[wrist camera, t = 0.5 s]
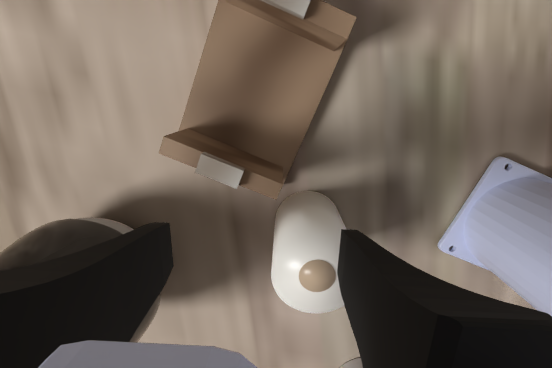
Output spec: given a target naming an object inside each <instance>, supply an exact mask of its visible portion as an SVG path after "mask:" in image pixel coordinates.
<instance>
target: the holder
mask: <svg viewBox="0 0 552 368" xmlns="http://www.w3.org/2000/svg"><path fill="white" fill-rule="evenodd" d="M356 18H357V17H355V16H353V15H351V14H349V13H347V12H344V11H342V10H340V9H338V8H336V7H334V6H332V5H330V4H328V3H325V2H323V1H321V0H218V4H217V7H216V10H215V14H214V17H213V20H212V23H211V27H210V30H209V33H208V36H207V40H206V43H205V46H204V50H203V53H202V56H201V59H200V63H199V66H198V69H197V73H196V76H195V79H194V82H193V86H192V89H191V92H190V96H189V99H188V102H187V105H186V109H185V112H184V115H183V119H182V122H181V125H180V128H179V131H178V132H175V133H172V134H169V135H166V136H164V137H163V140H162V144H161V147H160V151H159V154H162V155H164V156H167V157H169V158H172V159H174V160H177V161H180V162H182V163H185V164H187V165H190V166H192V167H195V168H196V171H195V173H197V174H200V175H202V176H205V177H207V178H210V179H212V180H215V181H218V182H220V183H223V184H225V185H228V186H230V187H233V188H235V189H237V187H238V185H240V186H243V187H245V188H248V189H250V190H253V191H255V192H258V193H260V194H263V195H265V196H268V197H270V198H273V199H275V200H276V199H277V197H278V194H279V192H280V190H281V189H282V186H283V184H284V182H285V179H286V177H287V175H288V173H289V170H290V168H291V166H292V164H293V161H294V159H295V157H296V155H297V152H298V150H299V148H300V146H301V143H302V141H303V139H304V137H305V134H306V132H307V130H308V127H309V125H310V123H311V121H312V118H313V116H314V114H315V112H316V109H317V107H318V105H319V103H320V100H321V98H322V96H323V94H324V91H325V89H326V87H327V85H328V82H329V80H330V78H331V75H332V73H333V71H334V69H335V66H336V64H337V62H338V60H339V57H340V55H341V53H342V51H343V48H344V46H345V44H346V42H347V39H348V37H349V35H350V33H351V30H352V27H353V25H354V22H355V20H356Z"/></svg>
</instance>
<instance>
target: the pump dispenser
mask: <svg viewBox="0 0 552 368" xmlns="http://www.w3.org/2000/svg"><path fill="white" fill-rule="evenodd" d="M132 230H134V229H132V228H131V227H129V226H127V225H125V224H122V223H120V222H117V221H114V220H110V219H104V218H80V219H64V220H58V221H53V222H50V223H47V224H45V225H42V226H40V227H38V228H36V229H34V230H33V231H31V232H29V233H27V234H26V235H24V236H23V237H21V238H20V239H18V240H17V241H15V242H14V243H13V244H11V245H10V246H8V247H7V248H6V249H4V250H3V251H2V252H1V253H0V272H1V271H6V270H11V269H16V268H20V267H24V266H28V265H32V264H37V263H41V262H45V261H49V260H52V259H56V258H59V257H62V256H66V255H69V254H72V253H75V252H78V251H81V250H84V249H87V248H89V247H92V246H95V245H97V244H100V243H102V242H105V241H108V240H110V239H113V238H115V237H118V236H120V235H122V234H125V233H127V232H130V231H132ZM159 303H160V294H159V295H158V297H157V298H156V300H155V302H154V303H153V305H152V306H151V308H150V309H149V311H148V313H147V314H146V316H145V317H144V319H143V320H142V322H141V324H140V325H139V327H138V328H137V330H136V331H135V333H134V335H133V336H132V338H131V340H130V342H138V341H139V340H140V338H141V337H142V336H143V334H144V333H145V332H146V330H147V329H148V327H149V325H150V324H151V322H152V320H153V319H154V317H155V315H156V313H157V310H158V307H159Z"/></svg>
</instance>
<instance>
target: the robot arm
mask: <svg viewBox="0 0 552 368" xmlns="http://www.w3.org/2000/svg"><path fill="white" fill-rule="evenodd" d="M506 164H508V167H507V168H506V169H505V168H504V167H505V165H506ZM451 246H453V248H452V249H449V248H450V247H451ZM438 248H439V249H440V250H441V251H443V252H445V253H447V254H450V255H452V256H455V257H457V258H460V259H462V260H465V261H467V262H470V263H472V264H475V265H477V266H480V267H482V268H485V269H487V270H490V271H492V272H493V273H494V274H495V275H496V276H498V277H499V278H500V279H501V280H502V281H503V282H505V283H506V284H507V285H508V286H509V287H510V288H512V289H513V290H514V291H515V292H516V293H518V294H519V295H520V296H521V297H522V298H523V299H525V300H526V301H527V302H528V303H529V304H531V305H532V306H533V307H534V308H535V309H536V310H533V309H529V308H526V307H522V306H518V305H514V304H510V303H506V302H502V301H499V300H496V299H493V298H490V297H486V296H483V295H480V294H477V293H474V292H471V291H468V290H466V289H463V288H460V287H458V286H455V285H453V284H450V283H448V282H445V281H443V280H441V279H438V278H436V277H434V276H432V275H430V274H428V273H426V272H424V271H422V270H420V269H418V268H416V267H414V266H412V265H410V264H408V263H407V262H405V261H403V260H402V259H400V258H398V257H397V256H395V255H393V254H392V253H390V252H389V251H387V250H386V249H384V248H383V247H381V246H380V245H378V244H377V243H376V242H374V241H373V240H371V239H370V238H368V237H367V236H366V235H364V234H363V233H361V232H359V231H358V230H347V229H341V239H340V248H339V258H338V268H337V275H338V281H339V286H340V292H341V296H342V299H343V302H344V305H345V308H346V311H347V314H348V317H349V320H350V323H351V327H352V330H353V333H354V336H355V339H356V342H357V345H358V349H359V352H360V356H361V361H362V366H363V368H552V178H550V177H548V176H546V175H544V174H541V173H539V172H537V171H535V170H532V169H530V168H528V167H526V166H523V165H521V164H519V163H517V162H514V161H512V160H510V159H508V158H505V157H501V156H500V157H496V158H495V159H494V160H493V161H492V162H491V164H490V165H489V167H488V168H487V170H486V171H485V173H484V174H483V176H482V177H481V179H480V181H479V182H478V184H477V185H476V187H475V188H474V190H473V191H472V193H471V194H470V196H469V197H468V199H467V200H466V202H465V203H464V205H463V206H462V208H461V209H460V211H459V212H458V214H457V215H456V217H455V218H454V220H453V221H452V223H451V224H450V226H449V227H448V229H447V230H446V232H445V233H444V235H443V236H442V238H441V239H440V241H439V243H438ZM172 267H173V257H172V246H171V236H170V225H169V223H158V222H155V223H151V224H147V225H145V226H142V227H139V228H137V229H134V230H132V231H130V232H127V233H125V234H122V235H120V236H118V237H115V238H113V239H110V240H108V241H105V242H102V243H100V244H97V245H95V246H92V247H89V248H87V249H84V250H81V251H78V252H75V253H72V254H69V255H66V256H62V257H59V258H56V259H52V260H49V261H45V262H41V263H37V264H32V265H28V266H24V267H20V268H16V269H11V270H6V271H1V272H0V368H257V367H256V366H255V365H254V364H252V363H251V362H250V361H249V360H247V359H246V358H245V357H244V356H243V355H241V354H240V353H238V352H234V351H230V350H226V349H222V348H218V347H215V346H199V345H178V344H158V343H137V342H130V340H131V338H132V336H133V335H134V333H135V331H136V330H137V328H138V327H139V325H140V324H141V322H142V320H143V319H144V317H145V316H146V314H147V313H148V311H149V309H150V308H151V306H152V305H153V303H154V302H155V300H156V298H157V297H158V295H159V294H160V292H161V290H162V289H163V287H164V285H165V283H166V281H167V279H168V277H169V275H170V272H171V270H172ZM537 310H538V311H537Z"/></svg>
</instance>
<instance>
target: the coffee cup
mask: <svg viewBox="0 0 552 368" xmlns="http://www.w3.org/2000/svg"><path fill="white" fill-rule="evenodd" d="M340 368H363V366H362V361H361V357H360V358H356V359H353V360H350V361H348V362H346V363H345V364H343V365H342V366H341V367H340Z"/></svg>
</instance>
